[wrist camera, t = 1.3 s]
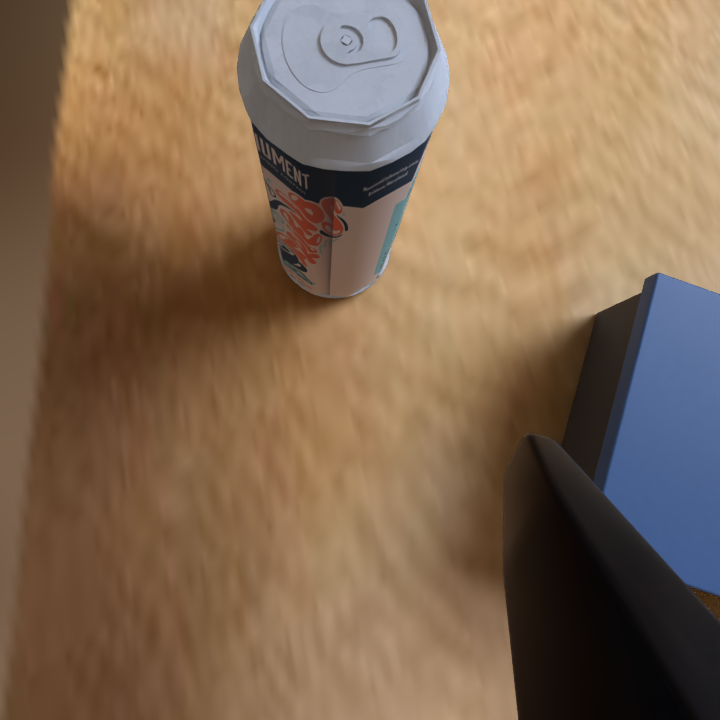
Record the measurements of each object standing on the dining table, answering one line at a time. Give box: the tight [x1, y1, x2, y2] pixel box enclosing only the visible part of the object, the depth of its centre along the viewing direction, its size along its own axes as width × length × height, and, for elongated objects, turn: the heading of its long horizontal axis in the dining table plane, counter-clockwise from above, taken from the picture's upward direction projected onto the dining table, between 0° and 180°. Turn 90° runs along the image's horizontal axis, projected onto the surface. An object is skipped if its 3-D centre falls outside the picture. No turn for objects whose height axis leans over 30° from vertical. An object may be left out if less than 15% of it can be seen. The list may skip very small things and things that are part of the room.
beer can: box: [237, 0, 449, 298], centre depth 17 cm, size 5×5×12 cm
